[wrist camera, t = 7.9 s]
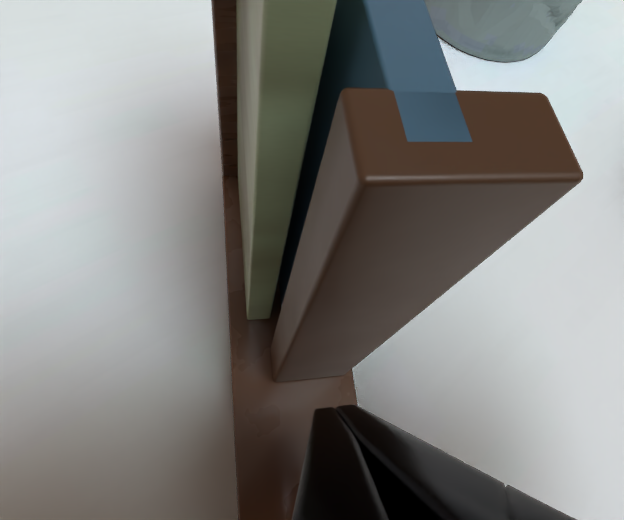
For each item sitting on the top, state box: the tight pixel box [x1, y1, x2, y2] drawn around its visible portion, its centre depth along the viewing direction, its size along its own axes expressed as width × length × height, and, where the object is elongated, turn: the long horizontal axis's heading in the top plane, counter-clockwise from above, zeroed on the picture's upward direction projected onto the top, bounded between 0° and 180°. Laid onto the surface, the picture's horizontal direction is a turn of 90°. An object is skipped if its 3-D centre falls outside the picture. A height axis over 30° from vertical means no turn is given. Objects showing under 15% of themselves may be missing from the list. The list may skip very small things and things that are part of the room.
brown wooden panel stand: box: [211, 0, 358, 520], centre depth 10 cm, size 14×4×13 cm, turn 8°
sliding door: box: [271, 0, 583, 382], centre depth 10 cm, size 6×2×11 cm, turn 8°
